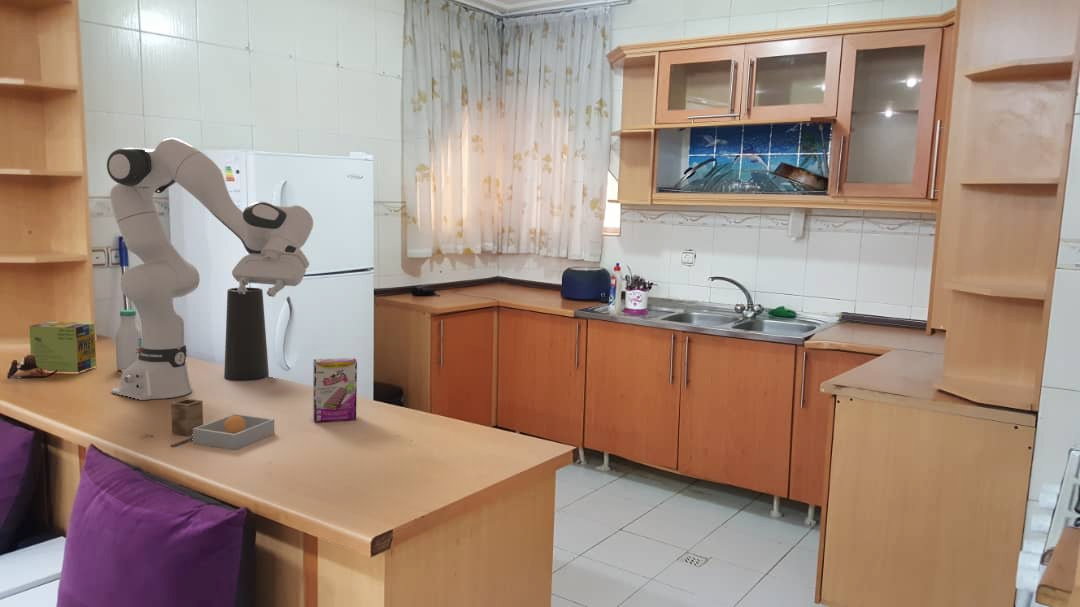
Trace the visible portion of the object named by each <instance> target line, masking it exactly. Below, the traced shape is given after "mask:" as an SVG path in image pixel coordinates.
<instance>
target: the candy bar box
mask: <svg viewBox="0 0 1080 607" xmlns="http://www.w3.org/2000/svg"><path fill="white" fill-rule="evenodd" d="M312 364H313V373H312V374H313V378H312V379H313V380H312V381H313V382H312V383H313V386H312V388H313V389H312V392H313V393H312V394H313V395H312V396H313V398H312V400H313V401H312V402H313V403H312V406H313V407H312V410H313V413H312V416H313V422H314V423H325V422H326V423H328V421H329V422H341V421H342V420H345V421H356V420H357V392H358V391H357V390H358V387H357V386H358V384H357V382H358V381H357V378H358V376H357V375H358V361H357V359H356V357H355V358H354V357H346V358H345V357H344V358H338V357H337V358H314V359H313V363H312ZM355 419H356V420H355Z"/></svg>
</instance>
